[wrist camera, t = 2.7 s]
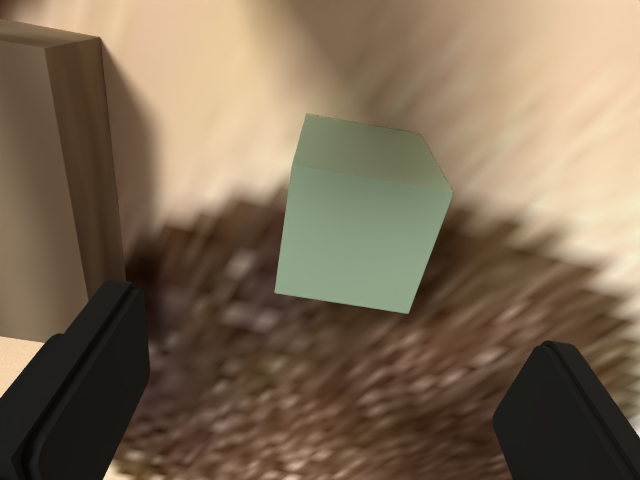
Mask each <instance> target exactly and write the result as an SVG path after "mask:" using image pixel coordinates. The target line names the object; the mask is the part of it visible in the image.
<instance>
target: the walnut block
mask: <svg viewBox="0 0 640 480" xmlns="http://www.w3.org/2000/svg"><path fill="white" fill-rule="evenodd" d="M107 279H113V280H120V281H126V274H125V265H124V256H123V246H122V237H121V228H120V219H119V209H118V200H117V191H116V182H115V172H114V163H113V154H112V145H111V135H110V126H109V117H108V108H107V98H106V89H105V80H104V71H103V61H102V52H101V43H100V37H96V36H90V35H85V34H80V33H74V32H69V31H64V30H58V29H53V28H48V27H42V26H37V25H32V24H26V23H21V22H16V21H10V20H5V19H0V336H2V337H9V338H15V339H22V340H29V341H36V342H42V343H45V342H46V341H47V340H48V339H49V338H50V337H51V336H53V335H55V334H57V333H63V334H64V333H65V331H66V330H67V329H68V327H69V326H70V325H71V324H72V322H73V321H74V320H75V318H76V317H77V316H78V315H79V313H80V312H81V311H82V309H83V308H84V307H85V306H86V304H87V303H88V302H89V300H90V299H91V298H92V297H93V295H94V294H95V293H96V291H97V290H98V289H99V288H100V286H101V285H102V284H103V283H104V282H105V281H106V280H107Z"/></svg>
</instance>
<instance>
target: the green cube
mask: <svg viewBox="0 0 640 480" xmlns="http://www.w3.org/2000/svg"><path fill="white" fill-rule="evenodd" d="M453 193H454V192H453V191H452V189H451V187H450V185H449V183H448V182H447V180H446V178H445V176H444V175H443V173H442V171H441V169H440V167H439V166H438V164H437V162H436V160H435V158H434V157H433V155H432V153H431V151H430V149H429V148H428V146H427V144H426V142H425V141H424V139H423V137H422V135H421V134H418V133H412V132H407V131H401V130H396V129H390V128H384V127H379V126H373V125H368V124H362V123H357V122H351V121H346V120H340V119H334V118H329V117H323V116H318V115H312V114H307V113H306V116H305V120H304V124H303V127H302V131H301V135H300V138H299V142H298V145H297V149H296V153H295V156H294V160H293V164H292V169H291V177H290V184H289V191H288V199H287V206H286V213H285V221H284V228H283V235H282V242H281V250H280V257H279V264H278V272H277V279H276V286H275V293H279V294H285V295H292V296H298V297H304V298H311V299H317V300H324V301H330V302H336V303H343V304H349V305H355V306H362V307H368V308H375V309H381V310H387V311H394V312H400V313H407V314H408V313H409V311H410V308H411V305H412V303H413V300H414V297H415V295H416V292H417V289H418V287H419V284H420V281H421V279H422V276H423V273H424V271H425V268H426V265H427V263H428V260H429V257H430V255H431V252H432V249H433V247H434V244H435V241H436V239H437V236H438V233H439V231H440V228H441V225H442V223H443V220H444V217H445V215H446V212H447V209H448V207H449V204H450V201H451V199H452V196H453Z"/></svg>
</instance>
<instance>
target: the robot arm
mask: <svg viewBox="0 0 640 480" xmlns="http://www.w3.org/2000/svg"><path fill="white" fill-rule="evenodd" d="M149 375H150V362H149V349H148V336H147V323H146V309H145V296H144V292H143V290H138V289H137V285H136V284H135V283H134V282H127V281H120V280H113V279H107V280H106V281H105V282H104V283H103V284H102V285H101V286H100V288H99V289H98V290H97V291H96V293H95V294H94V295H93V297H92V298H91V299H90V300H89V302H88V303H87V304H86V306H85V307H84V308H83V309H82V311H81V312H80V313H79V315H78V316H77V317H76V318H75V320H74V321H73V322H72V324H71V325H70V326H69V327H68V329H67V330H66V331H65V333H64V334H63V333H57V334H55V335H53V336H51V337H50V338H49V339H48V340H47V341H46V342H45V344H44V345H43V346H42V347H41V349H40V350H39V351H38V352H37V354H36V355H35V356H34V357H33V358H32V360H31V361H30V362H29V363H28V365H27V366H26V367H25V368H24V370H23V371H22V372H21V373H20V375H19V376H18V377H17V378H16V379H15V381H14V382H13V383H12V384H11V386H10V387H9V388H8V389H7V391H6V392H5V393H4V394H3V395H2V397H1V398H0V480H103V478H104V476H105V474H106V472H107V470H108V467H109V465H110V463H111V461H112V459H113V457H114V455H115V452H116V450H117V448H118V446H119V444H120V442H121V439H122V437H123V435H124V433H125V431H126V429H127V427H128V424H129V422H130V420H131V418H132V416H133V414H134V411H135V409H136V407H137V405H138V403H139V401H140V399H141V396H142V394H143V392H144V390H145V388H146V385H147V383H148V380H149ZM493 427H494V430H495V433H496V435H497V438H498V441H499V443H500V446H501V449H502V451H503V454H504V456H505V459H506V462H507V464H508V467H509V470H510V472H511V475H512V477H513V480H640V438H639V436H638V435H637V433H636V432H635V430H634V429H633V428H632V426H631V425H630V423H629V422H628V420H627V419H626V418H625V416H624V415H623V413H622V412H621V410H620V409H619V408H618V406H617V405H616V403H615V402H614V400H613V399H612V398H611V396H610V395H609V393H608V392H607V390H606V389H605V388H604V386H603V385H602V383H601V382H600V380H599V379H598V378H597V376H596V375H595V373H594V372H593V370H592V369H591V368H590V366H589V365H588V363H587V362H586V360H585V359H584V358H583V356H582V355H581V353H580V352H579V350H578V349H577V348H576V347H575V346H574V345H572V344H569V343H562V342H555V341H545V342H543V343H542V344H541V345H540V346H536V347H535V348H534V350H533V351H532V353H531V355H530V356H529V358H528V359H527V361H526V363H525V364H524V366H523V367H522V369H521V371H520V372H519V374H518V375H517V377H516V379H515V380H514V382H513V383H512V385H511V387H510V388H509V390H508V391H507V393H506V395H505V396H504V398H503V399H502V401H501V403H500V404H499V406H498V408H497V409H496V411H495V412H494V415H493Z"/></svg>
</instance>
